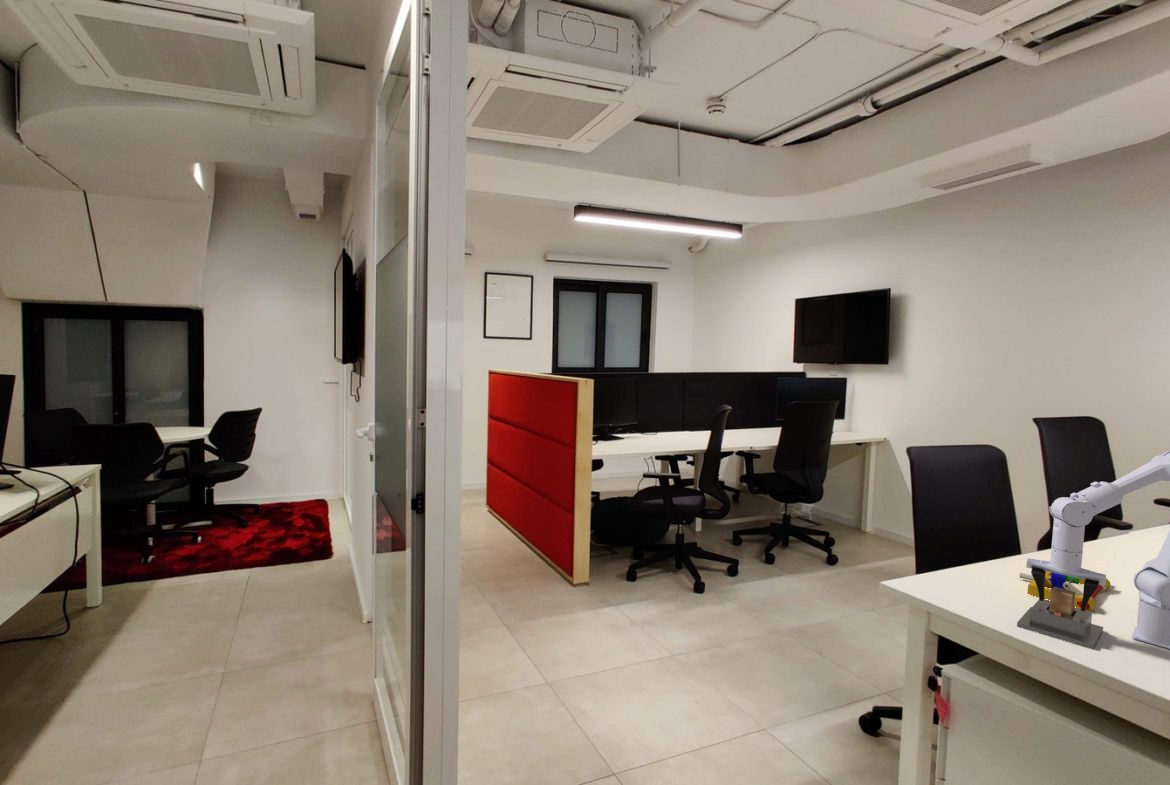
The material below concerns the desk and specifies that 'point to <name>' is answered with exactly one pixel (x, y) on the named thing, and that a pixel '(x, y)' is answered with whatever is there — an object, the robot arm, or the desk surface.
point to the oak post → (1062, 601)
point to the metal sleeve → (1062, 624)
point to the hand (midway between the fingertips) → (1061, 604)
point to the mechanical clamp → (1064, 587)
